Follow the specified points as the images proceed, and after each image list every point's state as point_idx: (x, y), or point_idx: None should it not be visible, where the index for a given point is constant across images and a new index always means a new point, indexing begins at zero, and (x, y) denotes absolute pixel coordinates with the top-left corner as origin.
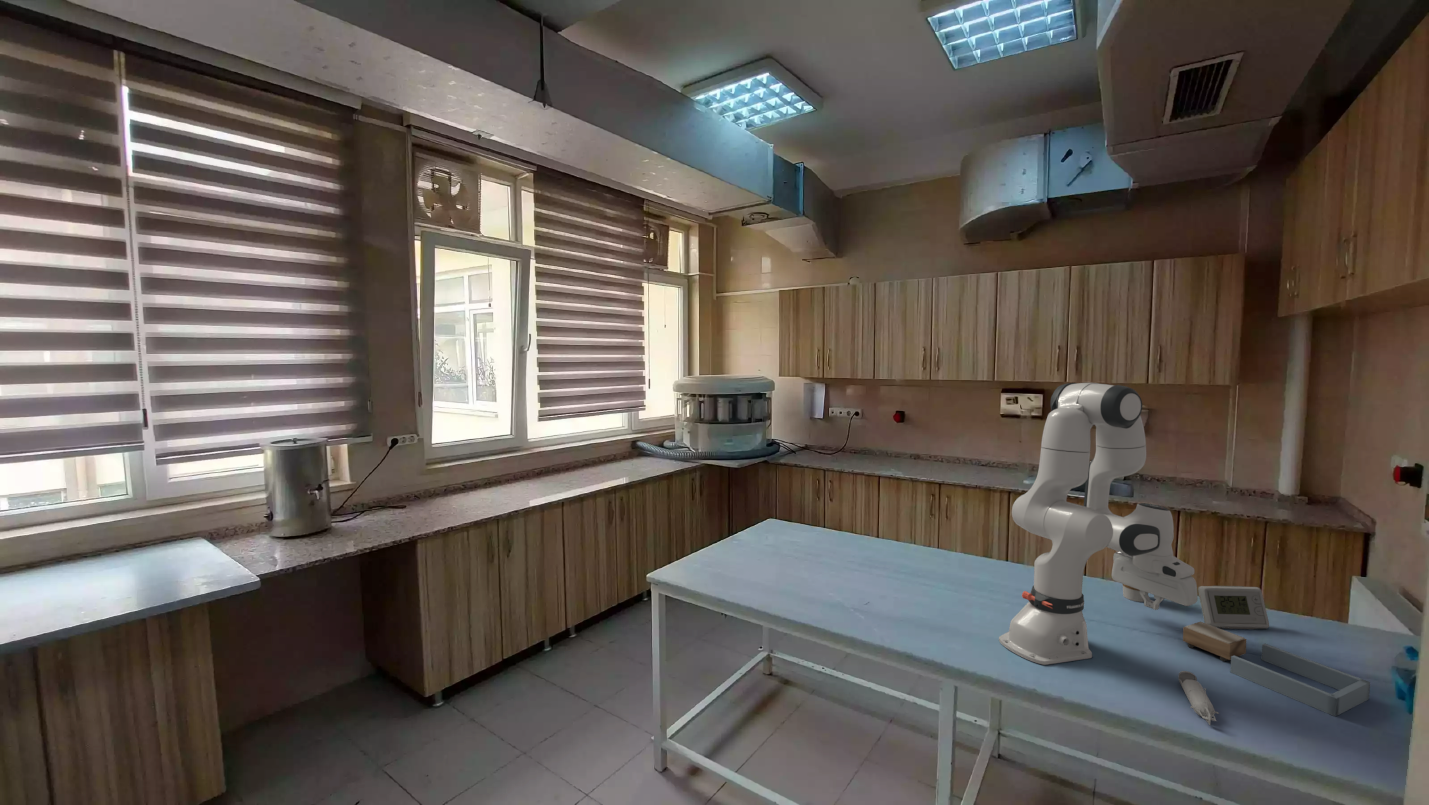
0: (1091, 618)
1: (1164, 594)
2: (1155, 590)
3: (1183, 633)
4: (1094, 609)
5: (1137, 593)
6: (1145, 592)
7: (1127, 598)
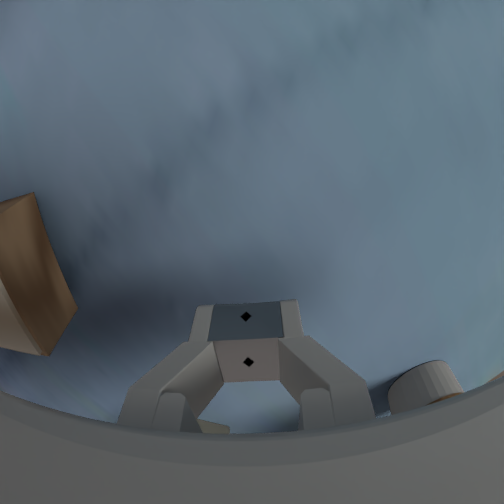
0: (441, 22)
1: (18, 445)
2: (103, 492)
3: (5, 209)
4: (490, 152)
5: (416, 398)
6: (303, 423)
7: (434, 362)
